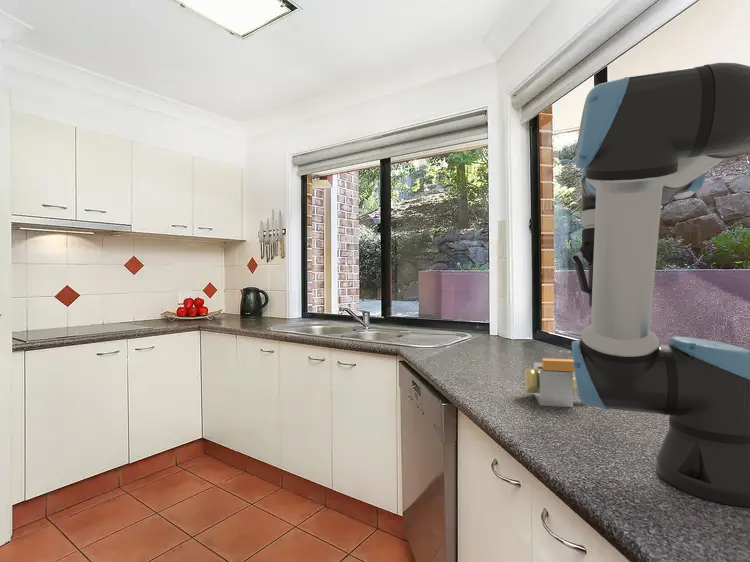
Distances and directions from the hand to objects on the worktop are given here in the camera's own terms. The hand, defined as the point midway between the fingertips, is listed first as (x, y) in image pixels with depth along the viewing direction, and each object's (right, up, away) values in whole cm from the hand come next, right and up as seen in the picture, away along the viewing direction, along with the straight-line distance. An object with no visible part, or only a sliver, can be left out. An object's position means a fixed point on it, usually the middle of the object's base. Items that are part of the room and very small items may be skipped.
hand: (598, 320), depth 104 cm
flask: (+2, -22, +22) cm, 31 cm away
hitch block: (-9, -22, +6) cm, 25 cm away
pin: (-8, -20, +6) cm, 22 cm away
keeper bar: (-8, -13, +2) cm, 15 cm away
